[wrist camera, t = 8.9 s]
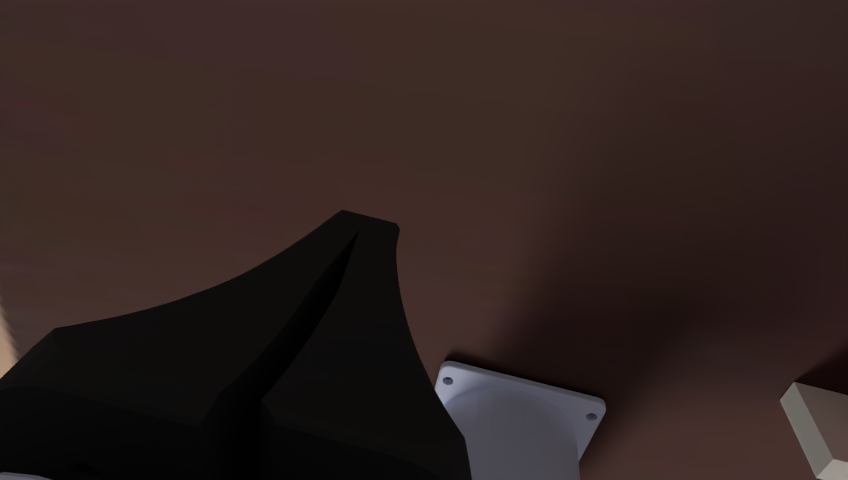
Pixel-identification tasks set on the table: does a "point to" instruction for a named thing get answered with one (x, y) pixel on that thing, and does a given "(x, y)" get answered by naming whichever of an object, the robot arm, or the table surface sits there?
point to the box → (820, 428)
